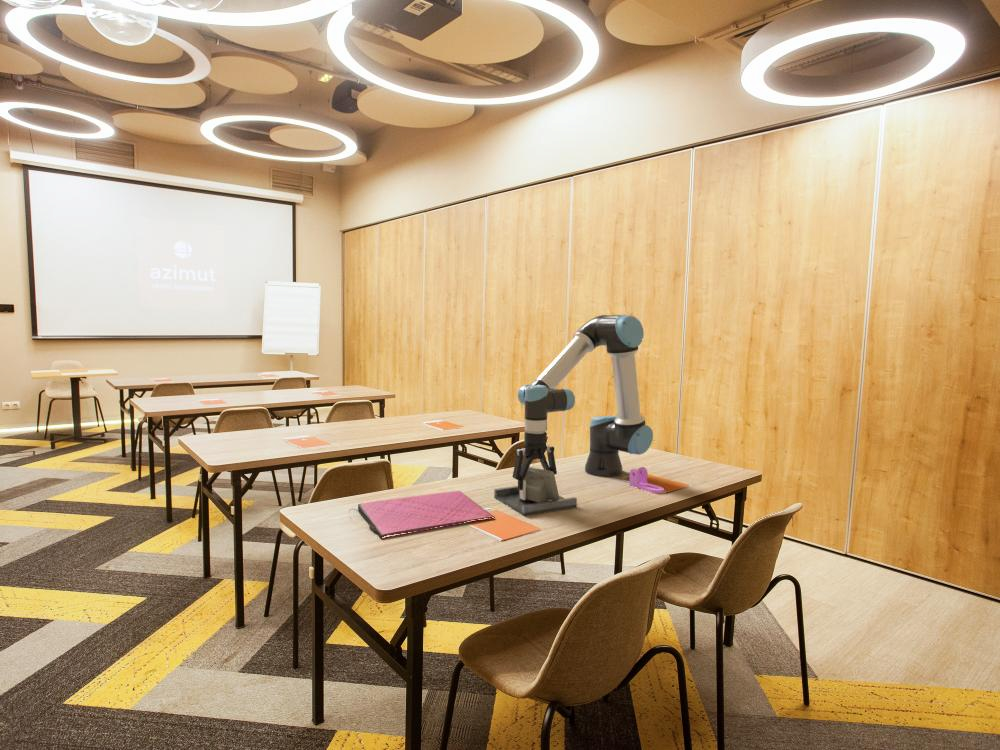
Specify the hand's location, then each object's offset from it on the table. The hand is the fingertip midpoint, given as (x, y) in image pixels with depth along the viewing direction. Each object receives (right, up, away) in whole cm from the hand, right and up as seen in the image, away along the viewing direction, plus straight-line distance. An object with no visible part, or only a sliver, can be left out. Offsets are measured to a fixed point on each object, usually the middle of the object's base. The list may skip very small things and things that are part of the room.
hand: (534, 496), depth 192 cm
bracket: (+43, -1, +17) cm, 46 cm away
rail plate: (0, -2, 0) cm, 2 cm away
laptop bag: (-37, -4, -14) cm, 40 cm away
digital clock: (+1, -1, 0) cm, 1 cm away
